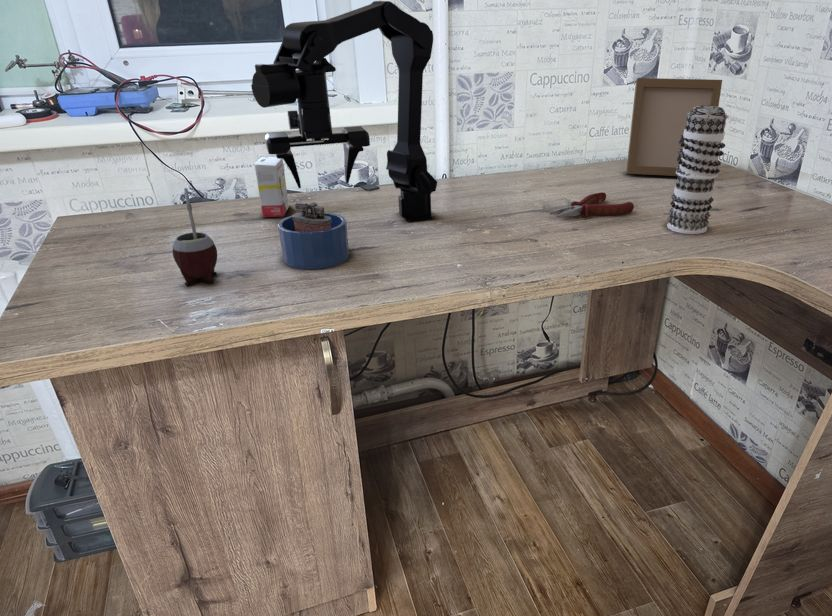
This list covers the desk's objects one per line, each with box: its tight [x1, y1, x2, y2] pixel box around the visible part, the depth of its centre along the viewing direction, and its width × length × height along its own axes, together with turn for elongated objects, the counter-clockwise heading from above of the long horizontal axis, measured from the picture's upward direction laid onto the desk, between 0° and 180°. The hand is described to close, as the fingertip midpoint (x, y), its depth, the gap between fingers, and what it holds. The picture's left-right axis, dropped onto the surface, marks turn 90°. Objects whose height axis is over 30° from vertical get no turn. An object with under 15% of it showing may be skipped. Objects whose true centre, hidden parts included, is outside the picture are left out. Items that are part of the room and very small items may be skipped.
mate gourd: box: [172, 187, 218, 287], centre depth 108 cm, size 8×8×15 cm
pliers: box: [548, 191, 635, 218], centre depth 146 cm, size 12×20×3 cm, turn 122°
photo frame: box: [625, 77, 723, 177], centre depth 174 cm, size 15×22×25 cm
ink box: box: [253, 156, 290, 218], centre depth 143 cm, size 9×5×12 cm, turn 5°
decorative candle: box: [666, 105, 729, 235], centre depth 131 cm, size 9×9×25 cm
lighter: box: [291, 201, 332, 232], centre depth 119 cm, size 8×3×10 cm, turn 68°
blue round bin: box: [277, 211, 350, 270], centre depth 120 cm, size 12×12×7 cm
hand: (323, 185), depth 122 cm, fingers open, 9 cm apart
